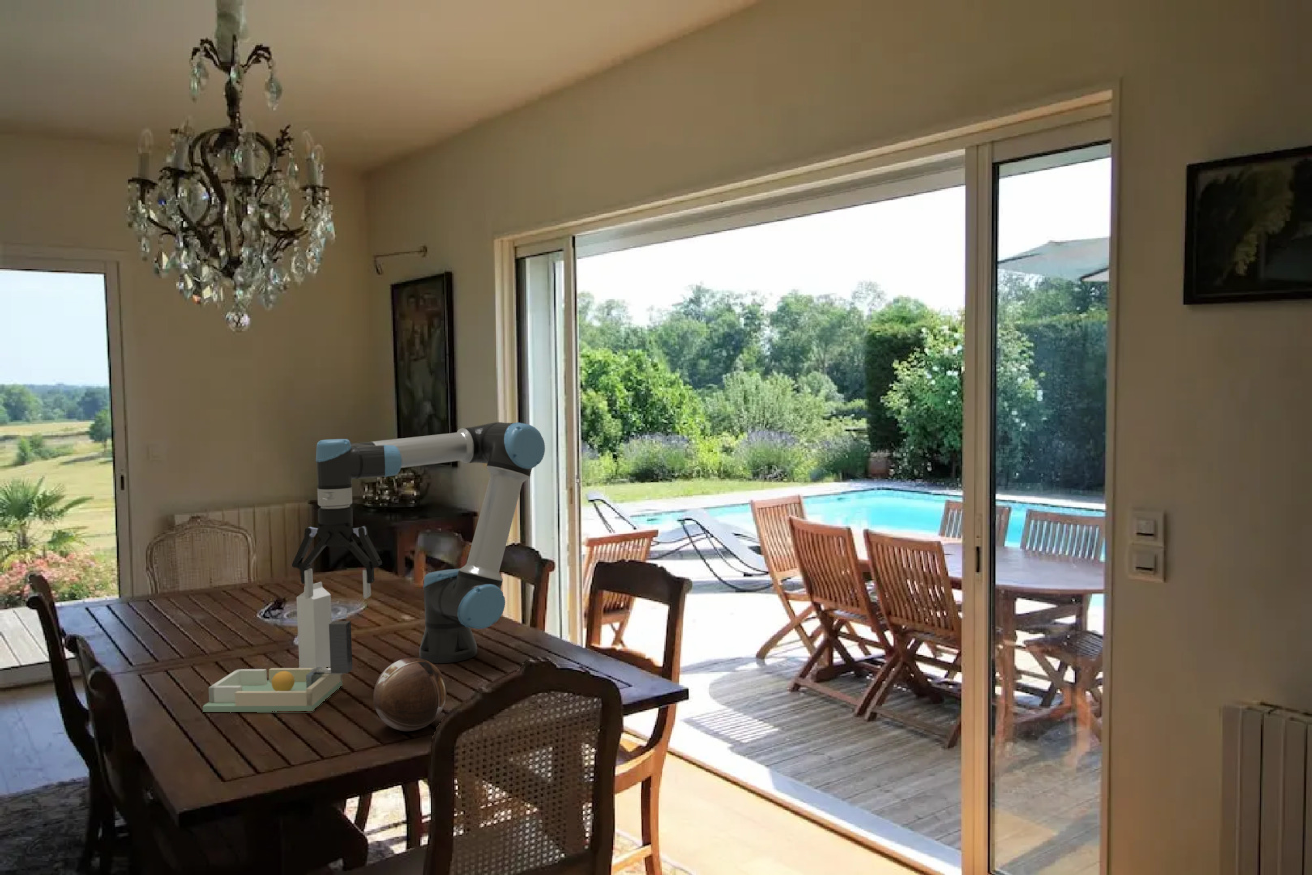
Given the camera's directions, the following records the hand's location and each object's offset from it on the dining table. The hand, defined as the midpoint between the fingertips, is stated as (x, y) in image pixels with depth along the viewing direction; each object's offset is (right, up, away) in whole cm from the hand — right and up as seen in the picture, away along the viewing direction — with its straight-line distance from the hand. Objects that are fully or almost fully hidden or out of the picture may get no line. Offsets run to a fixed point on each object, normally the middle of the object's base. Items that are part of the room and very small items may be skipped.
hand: (338, 597), depth 216 cm
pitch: (-15, -24, +2) cm, 29 cm away
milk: (-15, -23, +26) cm, 38 cm away
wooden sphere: (+22, -25, -18) cm, 38 cm away
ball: (-14, -20, +2) cm, 24 cm away
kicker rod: (-2, -22, +2) cm, 22 cm away
